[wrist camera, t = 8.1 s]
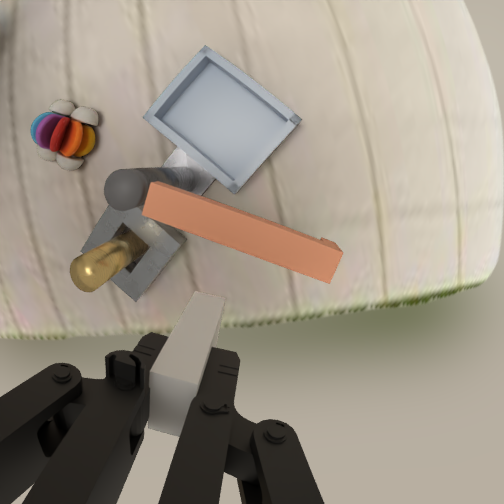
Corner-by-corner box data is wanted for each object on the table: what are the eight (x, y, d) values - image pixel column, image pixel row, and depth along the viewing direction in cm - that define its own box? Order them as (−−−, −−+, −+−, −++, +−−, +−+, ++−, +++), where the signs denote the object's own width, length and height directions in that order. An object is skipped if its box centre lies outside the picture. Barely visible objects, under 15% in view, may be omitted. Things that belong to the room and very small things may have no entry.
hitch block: (91, 245, 41) (80, 251, 38) (129, 188, 38) (118, 190, 35) (144, 293, 42) (135, 302, 39) (186, 239, 40) (180, 244, 37)
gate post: (151, 182, 38) (85, 195, 23) (181, 144, 37) (126, 133, 22) (186, 213, 39) (137, 243, 24) (218, 175, 37) (183, 182, 22)
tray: (152, 120, 36) (142, 117, 33) (210, 53, 33) (205, 45, 30) (237, 192, 38) (234, 194, 35) (299, 123, 35) (301, 119, 32)
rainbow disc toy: (89, 175, 38) (58, 178, 31) (42, 153, 38) (9, 154, 31) (111, 115, 36) (82, 108, 29) (61, 98, 35) (30, 91, 28)
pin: (119, 243, 40) (64, 275, 28) (133, 223, 39) (79, 248, 27) (138, 261, 41) (90, 299, 28) (153, 241, 40) (106, 273, 27)
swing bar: (321, 274, 25) (327, 287, 22) (117, 199, 24) (100, 203, 22) (336, 239, 24) (345, 248, 21) (126, 164, 24) (110, 164, 21)
